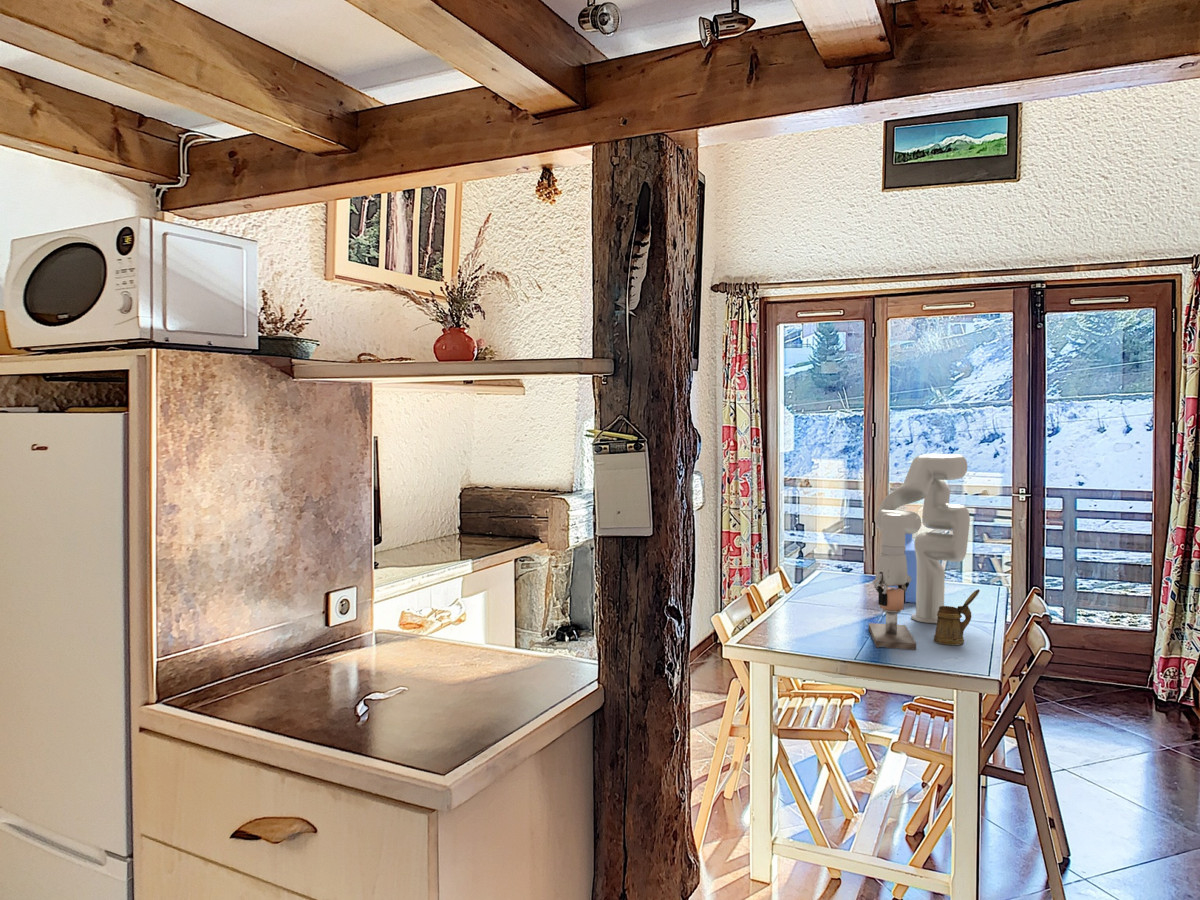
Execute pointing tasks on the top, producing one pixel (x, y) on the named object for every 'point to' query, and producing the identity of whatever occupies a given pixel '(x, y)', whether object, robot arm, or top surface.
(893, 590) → the cap
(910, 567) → the water jug
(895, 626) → the threaded post
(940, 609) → the wooden mug
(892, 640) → the base board
